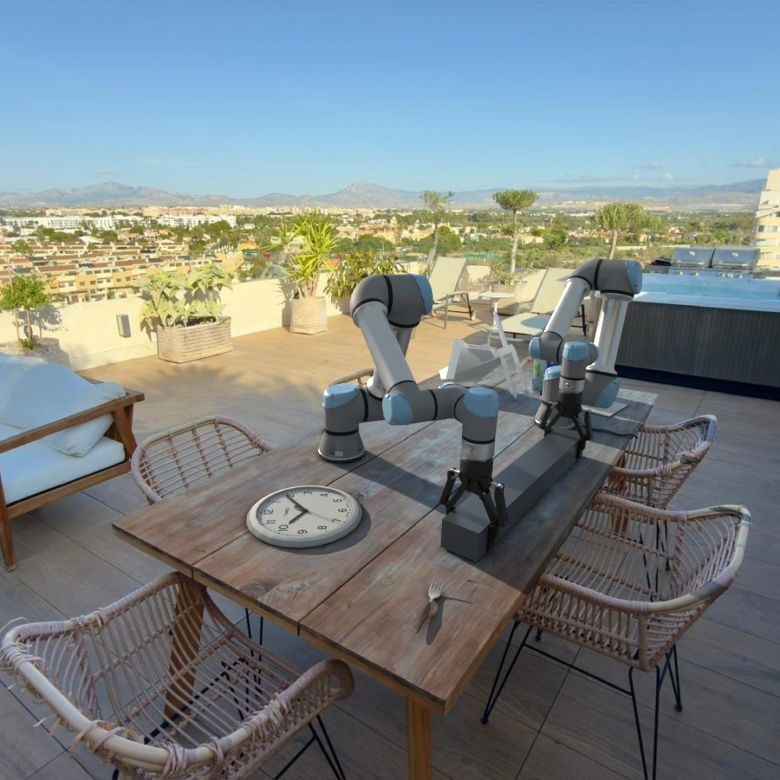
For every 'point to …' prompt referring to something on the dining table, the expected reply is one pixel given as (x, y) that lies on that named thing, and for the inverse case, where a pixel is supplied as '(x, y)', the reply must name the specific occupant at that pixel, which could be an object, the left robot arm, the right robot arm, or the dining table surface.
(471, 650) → the dining table surface
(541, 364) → the lunch box
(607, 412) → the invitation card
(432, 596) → the fork
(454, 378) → the white plastic object
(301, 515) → the wall clock
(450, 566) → the dining table surface
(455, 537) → the wide beam
